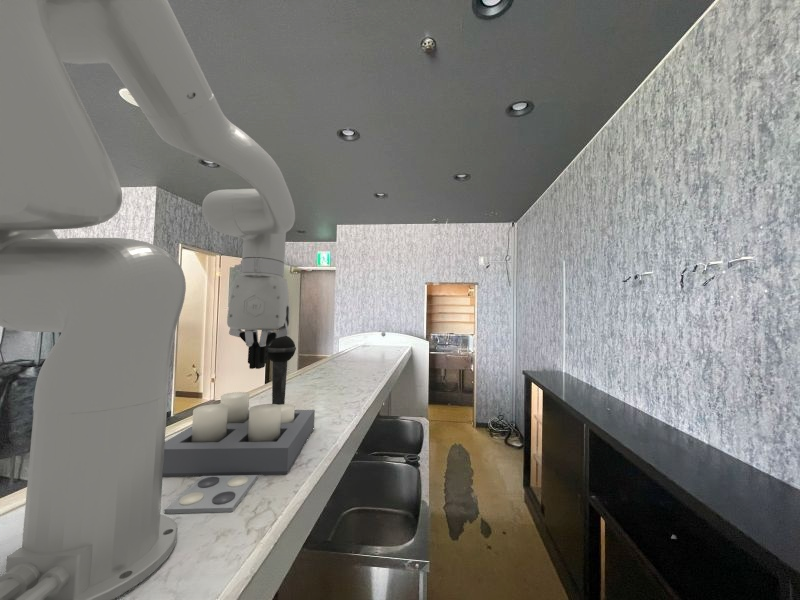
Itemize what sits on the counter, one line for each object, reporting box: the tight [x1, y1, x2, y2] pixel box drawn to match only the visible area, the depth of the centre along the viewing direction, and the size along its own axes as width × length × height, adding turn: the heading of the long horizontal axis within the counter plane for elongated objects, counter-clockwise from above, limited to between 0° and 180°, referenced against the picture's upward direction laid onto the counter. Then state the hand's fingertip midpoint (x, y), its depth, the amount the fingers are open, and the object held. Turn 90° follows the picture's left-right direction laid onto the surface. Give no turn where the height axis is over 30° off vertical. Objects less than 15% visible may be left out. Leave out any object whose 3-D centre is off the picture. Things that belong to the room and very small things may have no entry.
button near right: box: [248, 403, 281, 442], centre depth 53 cm, size 5×5×5 cm
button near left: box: [191, 403, 228, 443], centre depth 52 cm, size 5×5×5 cm
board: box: [163, 409, 315, 478], centre depth 57 cm, size 20×20×4 cm
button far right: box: [280, 403, 296, 423], centre depth 62 cm, size 5×5×5 cm
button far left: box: [220, 391, 250, 423], centre depth 61 cm, size 5×5×5 cm
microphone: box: [267, 335, 297, 405], centre depth 71 cm, size 7×7×20 cm
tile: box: [163, 475, 259, 515], centre depth 42 cm, size 8×8×1 cm
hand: (257, 367), depth 58 cm, fingers closed
